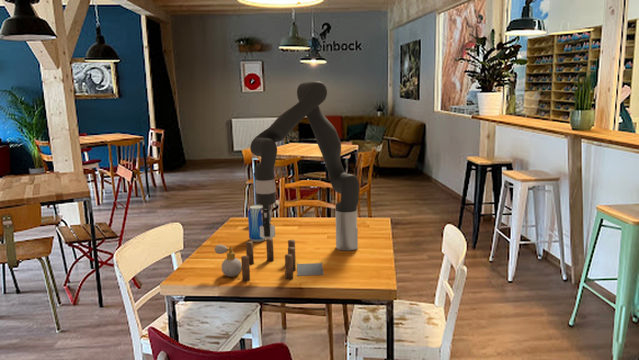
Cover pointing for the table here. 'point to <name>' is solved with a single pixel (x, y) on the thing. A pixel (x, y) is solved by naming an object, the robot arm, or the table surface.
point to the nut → (272, 232)
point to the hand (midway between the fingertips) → (267, 234)
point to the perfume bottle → (229, 261)
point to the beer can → (255, 223)
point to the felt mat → (309, 269)
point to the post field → (269, 259)
